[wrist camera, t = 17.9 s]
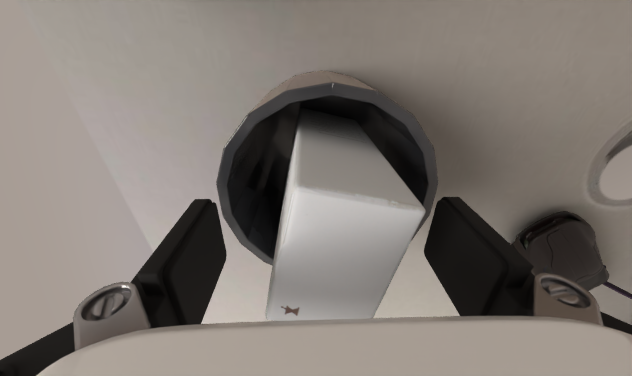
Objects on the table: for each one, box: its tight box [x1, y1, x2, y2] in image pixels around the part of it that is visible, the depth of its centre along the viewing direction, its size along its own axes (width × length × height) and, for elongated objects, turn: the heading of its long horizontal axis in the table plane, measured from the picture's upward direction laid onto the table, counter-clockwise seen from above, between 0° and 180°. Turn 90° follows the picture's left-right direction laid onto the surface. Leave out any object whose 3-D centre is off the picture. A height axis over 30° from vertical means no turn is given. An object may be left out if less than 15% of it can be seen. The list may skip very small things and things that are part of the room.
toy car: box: [511, 211, 609, 291], centre depth 24 cm, size 6×12×4 cm, turn 40°
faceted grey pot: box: [216, 71, 438, 265], centre depth 16 cm, size 11×11×8 cm
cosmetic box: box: [266, 108, 426, 321], centre depth 14 cm, size 6×4×12 cm
